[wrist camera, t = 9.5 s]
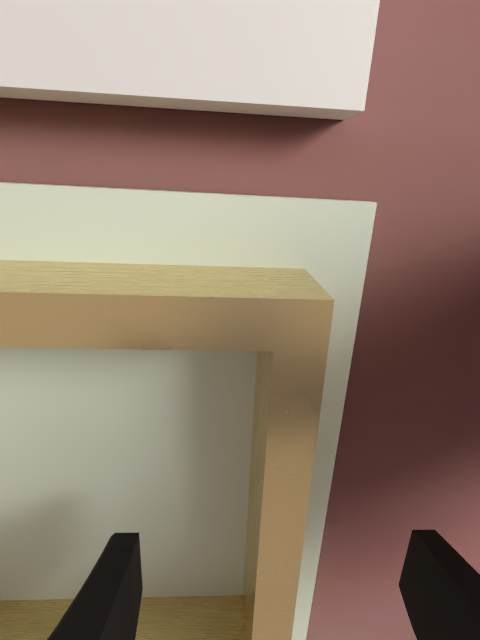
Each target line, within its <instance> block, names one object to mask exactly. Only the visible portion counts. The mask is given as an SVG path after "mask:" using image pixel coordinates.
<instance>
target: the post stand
mask: <svg viewBox="0 0 480 640" xmlns="http://www.w3.org/2000/svg"><path fill="white" fill-rule="evenodd" d="M379 3H380V0H0V97H2V98H17V99H32V100H47V101H63V102H78V103H93V104H108V105H123V106H138V107H154V108H169V109H184V110H199V111H214V112H229V113H245V114H260V115H275V116H290V117H305V118H320V119H336V120H346V119H348V118H350V117H352V116H354V115H356V114H359V113H361V112H363V111H364V109H365V102H366V94H367V87H368V80H369V73H370V66H371V59H372V52H373V45H374V38H375V31H376V24H377V17H378V10H379Z"/></svg>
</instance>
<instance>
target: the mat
mask: <svg viewBox="0 0 480 640" xmlns="http://www.w3.org/2000/svg"><path fill="white" fill-rule="evenodd" d="M376 206H377V202H370V201H354V200H335V199H315V198H296V197H277V196H258V195H239V194H220V193H201V192H182V191H162V190H143V189H124V188H105V187H86V186H67V185H48V184H29V183H9V182H0V260H22V261H56V262H90V263H125V264H159V265H194V266H228V267H263V268H297V269H306V270H307V271H308V272H309V273H310V275H311V276H312V277H313V278H314V279H315V280H316V281H317V282H318V283H319V284H320V285H321V286H322V287H323V288H324V289H325V290H326V291H327V292H328V293H329V295H330V296H331V297H332V298H333V299H334V300H335V301H334V309H333V317H332V325H331V333H330V341H329V348H328V356H327V364H326V372H325V380H324V388H323V395H322V403H321V411H320V419H319V427H318V435H317V443H316V450H315V458H314V466H313V474H312V482H311V490H310V497H309V505H308V513H307V521H306V529H305V537H304V544H303V552H302V560H301V568H300V576H299V584H298V591H297V599H296V607H295V615H294V623H293V631H292V638H291V640H306V635H307V629H308V623H309V617H310V611H311V605H312V599H313V592H314V586H315V580H316V574H317V568H318V562H319V556H320V550H321V543H322V537H323V531H324V525H325V519H326V513H327V507H328V500H329V494H330V488H331V482H332V476H333V470H334V464H335V458H336V451H337V445H338V439H339V433H340V427H341V421H342V415H343V409H344V402H345V396H346V390H347V384H348V378H349V372H350V366H351V359H352V353H353V347H354V341H355V335H356V329H357V323H358V317H359V310H360V304H361V298H362V292H363V286H364V280H365V274H366V268H367V261H368V255H369V249H370V243H371V237H372V231H373V225H374V218H375V212H376ZM256 366H257V351H206V350H142V349H79V348H15V347H0V601H3V600H47V599H74V598H75V597H76V595H77V594H78V592H79V591H80V589H81V587H82V586H83V584H84V583H85V581H86V579H87V578H88V576H89V574H90V573H91V571H92V569H93V568H94V566H95V564H96V562H97V561H98V559H99V557H100V555H101V554H102V552H103V550H104V548H105V546H106V545H107V543H108V541H109V539H110V537H111V536H112V535H113V534H114V533H138V532H139V539H140V555H141V571H142V586H143V590H142V597H178V596H222V595H243V580H244V564H245V547H246V531H247V514H248V498H249V481H250V465H251V448H252V432H253V415H254V399H255V382H256Z"/></svg>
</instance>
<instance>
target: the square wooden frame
mask: <svg viewBox="0 0 480 640" xmlns="http://www.w3.org/2000/svg"><path fill="white" fill-rule="evenodd" d="M334 301H335V300H334V299H333V298H332V297H331V296H330V295H329V293H328V292H327V291H326V290H325V289H324V288H323V287H322V286H321V285H320V284H319V283H318V282H317V281H316V280H315V279H314V278H313V277H312V276H311V275H310V273H309V272H308V271H307V270H306V269H297V268H263V267H228V266H194V265H159V264H125V263H90V262H56V261H22V260H0V347H15V348H79V349H142V350H206V351H257V366H256V382H255V399H254V415H253V432H252V448H251V465H250V481H249V498H248V514H247V531H246V547H245V564H244V580H243V595H222V596H178V597H141V604H140V611H139V618H138V624H137V631H136V637H135V640H291V638H292V631H293V623H294V615H295V607H296V599H297V591H298V584H299V576H300V568H301V560H302V552H303V544H304V537H305V529H306V521H307V513H308V505H309V497H310V490H311V482H312V474H313V466H314V458H315V450H316V443H317V435H318V427H319V419H320V411H321V403H322V395H323V388H324V380H325V372H326V364H327V356H328V348H329V341H330V333H331V325H332V317H333V309H334ZM73 600H74V599H47V600H3V601H0V640H47V639H48V638H49V636H50V635H51V633H52V632H53V630H54V629H55V627H56V626H57V625H58V623H59V622H60V620H61V618H62V617H63V615H64V614H65V612H66V611H67V609H68V608H69V606H70V605H71V603H72V602H73Z"/></svg>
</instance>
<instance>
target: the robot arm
mask: <svg viewBox="0 0 480 640" xmlns="http://www.w3.org/2000/svg"><path fill="white" fill-rule="evenodd" d="M399 587H400V591H401V594H402V597H403V600H404V603H405V607H406V610H407V613H408V616H409V619H410V622H411V625H412V627H413V630H414V633H415V635H416V638H417V640H480V575H479V574H478V573H477V572H476V571H475V570H474V569H473V568H472V567H471V566H470V565H469V564H468V563H467V562H466V561H465V560H464V558H463V557H462V556H461V555H460V554H459V553H458V552H457V551H456V550H455V549H454V548H453V547H452V546H451V545H450V544H449V543H448V542H447V541H446V540H445V539H444V538H443V537H442V536H441V535H439V534H438V533H437V532H436V531H435V530H412V534H411V538H410V542H409V546H408V550H407V554H406V557H405V561H404V565H403V569H402V573H401V577H400V581H399ZM142 590H143V586H142V571H141V555H140V539H139V532H138V533H114V534H113V535H112V536H111V537H110V539H109V541H108V543H107V545H106V546H105V548H104V550H103V552H102V554H101V555H100V557H99V559H98V561H97V562H96V564H95V566H94V568H93V569H92V571H91V573H90V574H89V576H88V578H87V579H86V581H85V583H84V584H83V586H82V587H81V589H80V591H79V592H78V594H77V595H76V597H75V598H74V600H73V602H72V603H71V605H70V606H69V608H68V609H67V611H66V612H65V614H64V615H63V617H62V618H61V620H60V622H59V623H58V625H57V626H56V627H55V629H54V630H53V632H52V633H51V635H50V636H49V638H48V639H47V640H135V637H136V631H137V624H138V618H139V611H140V604H141V597H142Z"/></svg>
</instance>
